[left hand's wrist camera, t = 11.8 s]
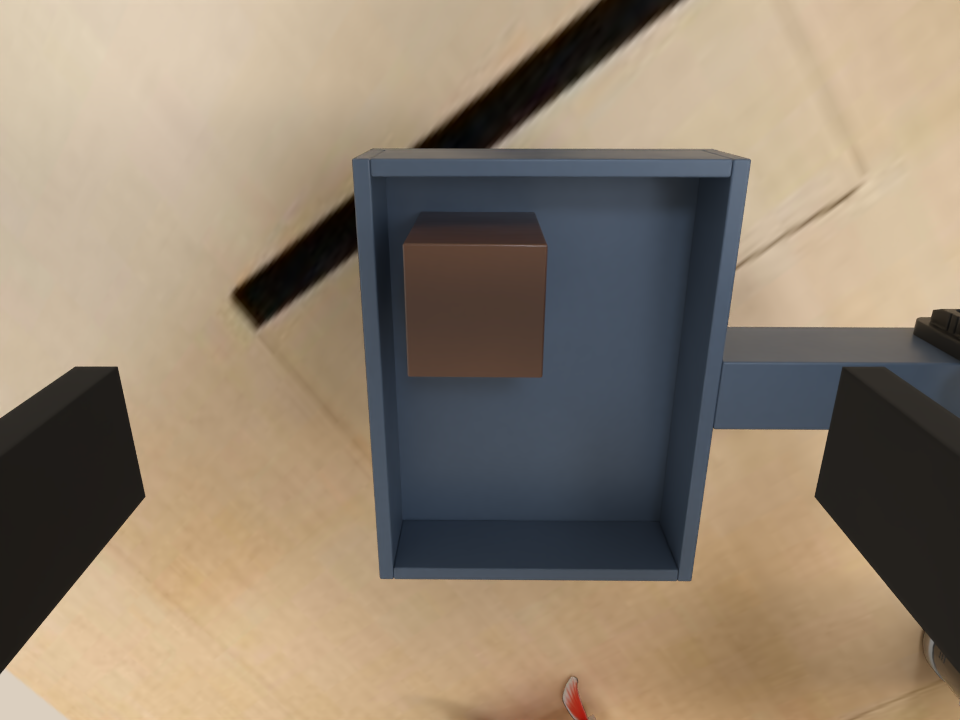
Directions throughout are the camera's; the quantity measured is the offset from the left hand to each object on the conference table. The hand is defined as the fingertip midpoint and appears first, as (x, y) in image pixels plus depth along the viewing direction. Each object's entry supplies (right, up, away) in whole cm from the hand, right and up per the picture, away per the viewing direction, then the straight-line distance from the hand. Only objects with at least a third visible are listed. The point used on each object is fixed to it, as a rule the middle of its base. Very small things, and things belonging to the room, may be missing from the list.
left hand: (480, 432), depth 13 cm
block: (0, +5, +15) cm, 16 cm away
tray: (+8, +1, +17) cm, 19 cm away
